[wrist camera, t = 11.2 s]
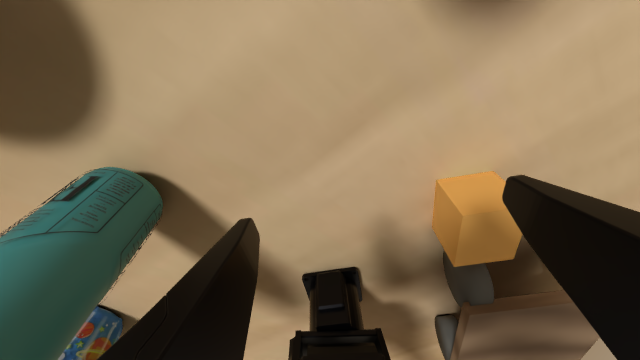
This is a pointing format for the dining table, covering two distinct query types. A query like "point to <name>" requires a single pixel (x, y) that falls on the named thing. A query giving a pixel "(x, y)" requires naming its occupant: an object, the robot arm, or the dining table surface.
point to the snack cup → (94, 336)
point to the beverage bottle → (70, 259)
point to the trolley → (509, 322)
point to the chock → (474, 219)
